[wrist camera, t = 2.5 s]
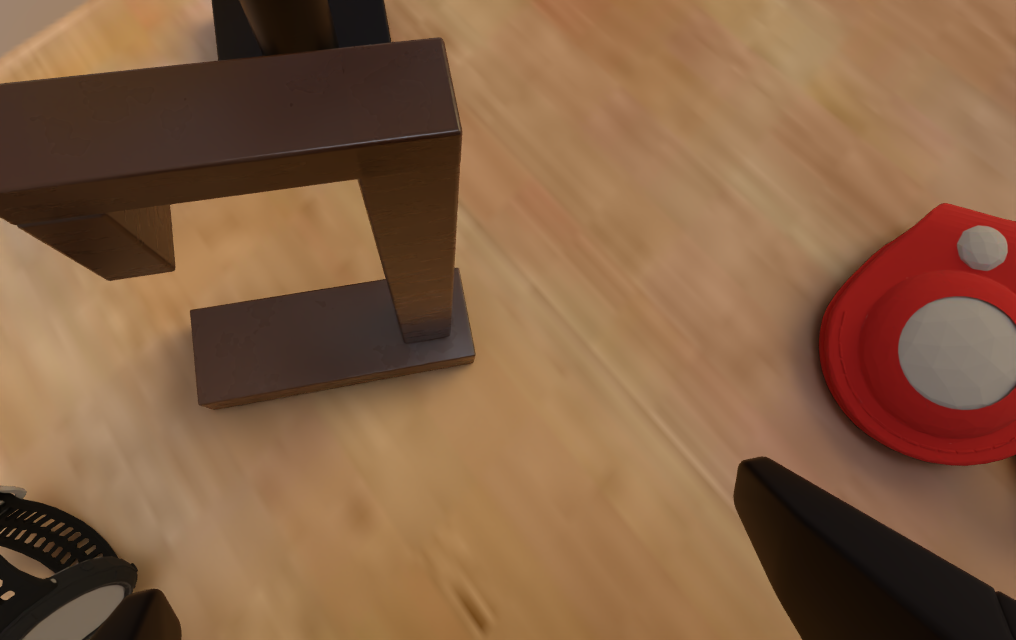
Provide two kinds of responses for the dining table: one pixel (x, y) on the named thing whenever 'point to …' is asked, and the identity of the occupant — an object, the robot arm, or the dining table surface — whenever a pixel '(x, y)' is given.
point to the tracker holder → (931, 340)
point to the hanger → (251, 169)
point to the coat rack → (296, 26)
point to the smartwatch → (57, 575)
